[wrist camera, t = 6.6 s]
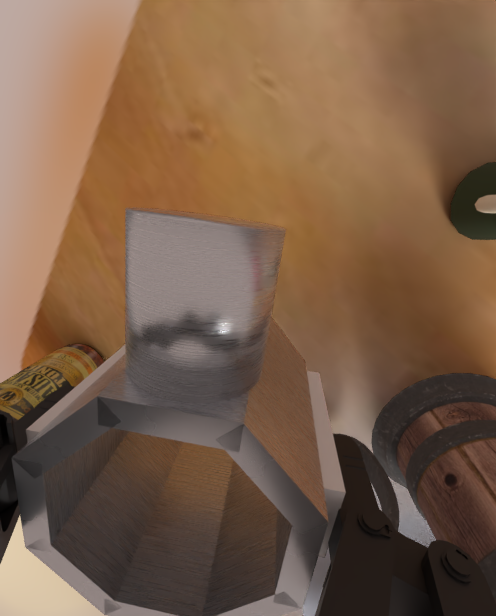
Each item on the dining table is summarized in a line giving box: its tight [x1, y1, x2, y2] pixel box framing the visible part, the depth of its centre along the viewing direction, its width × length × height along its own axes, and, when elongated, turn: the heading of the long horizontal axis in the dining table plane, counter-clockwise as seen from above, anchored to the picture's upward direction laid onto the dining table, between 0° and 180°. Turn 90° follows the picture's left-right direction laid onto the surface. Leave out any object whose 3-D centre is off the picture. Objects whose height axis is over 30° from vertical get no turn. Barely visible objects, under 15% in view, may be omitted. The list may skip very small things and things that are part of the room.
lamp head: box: [12, 208, 329, 616], centre depth 11 cm, size 12×8×8 cm, turn 172°
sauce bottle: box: [0, 344, 104, 424], centre depth 27 cm, size 7×6×20 cm
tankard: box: [338, 373, 496, 602], centre depth 25 cm, size 24×17×20 cm
